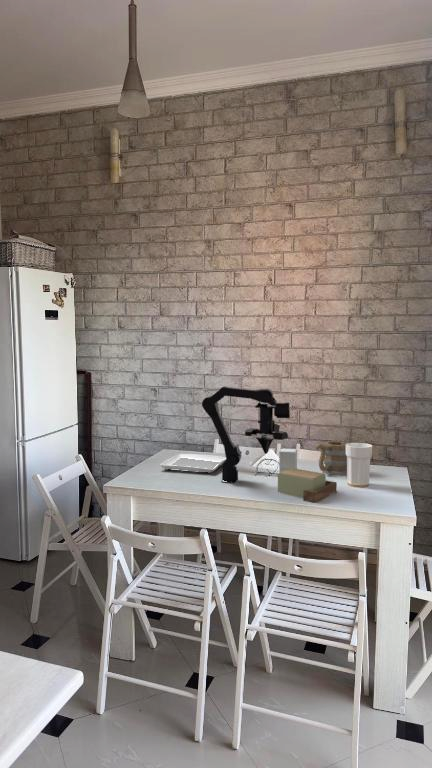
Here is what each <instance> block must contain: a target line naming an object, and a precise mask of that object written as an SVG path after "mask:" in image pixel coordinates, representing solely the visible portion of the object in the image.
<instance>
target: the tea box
mask: <svg viewBox="0 0 432 768" xmlns="http://www.w3.org/2000/svg"><path fill="white" fill-rule="evenodd" d="M326 476H327V474H325V473H323V472H317V471H310V470H304V469H299V468H297V469H294V468H291V469H288V470H285V471H283V472H280V473H279V472H278V473H277V493H279V492H280V494H284V495H290V496H294V497H300V498H303V490H309V491H316V490H318V489H320V488H322V487H324V486H325V480H326ZM326 481H327V480H326Z"/></svg>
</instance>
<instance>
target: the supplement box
mask: <svg viewBox="0 0 432 768" xmlns="http://www.w3.org/2000/svg"><path fill="white" fill-rule="evenodd" d="M278 453H279V457H278V458H279V463H278V466H279V469H278V470H279V471H278V474H279V473H280V472H283V471H285V470H288V469H291V468H294V469H298V456H297V455H298V449H297V448H281V449H280V450H279V451H278Z"/></svg>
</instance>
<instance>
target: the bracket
mask: <svg viewBox="0 0 432 768" xmlns="http://www.w3.org/2000/svg"><path fill="white" fill-rule="evenodd" d="M337 486H338V485H337V482H336V481H331V480H325V486H324V487H322V488H320V489H318V490H316V491H309V490H303V497H302V501H304V502H310V503H314V504H315V503H318V502H320V501H321V500H323V499H325V498H327V497H329V496H331V495H333V494H335V493H337V488H338V487H337Z"/></svg>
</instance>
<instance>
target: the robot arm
mask: <svg viewBox="0 0 432 768" xmlns="http://www.w3.org/2000/svg"><path fill="white" fill-rule="evenodd" d="M225 397H233V398H241V399H249V400H253V401H257V404H256V405H255V408H256V409H257V408H258V409H259V420H257V423H258V424H259V428H255V427H251V428H247V429H245V431H244V436H245V437H251V436H253V435H254V436H256V437H255V440H257V441H258V443H259V444H260V447H261V448H262V450H263V453H264V454H266V455H267V454H268V452H269V450H270V447H271V445H272V442H273V441H274V440H278V441H283V440H286V439H288V438H289V434H288V432H287V431H282V430H280V426H281V425H280V424H277V423H275V420H274V417H273V416H275V417H276V419H290V417H291V409H290V408H291V407H290V402H278V401H277V400H276V399H275V397H274V392H273V391H272V390H271V389H270V388H259V389H258V388H257V389H248V388H247V389H246V388H239V387H228V386H226V385H225V386H222V387H220V388H219V390H218V391H216V392H215V393H214V394H212V395H210V396H207V397H205V398H203V400H202V402H201V407H202V408H203V410H204V411H205V413H206V415H208V417H209V418H210V419H211V421H212V423H213V425H214V428H215V431H216V432H217V434H218V437H219V439H220V441H221V444H222V445H223V446H222V447H223V448H224V455H225V457H226V460H225V461H224V462H223V463H222V465H221V467H222V469H221V473H222V475H221V481H222V480H224V481H227V482H226V483H231V482H236V481H237V482H238V481H239V470H238V469H237V468H238V467H237V465H238V464H239V463H240V461H241V459H242V453H243V452H242V450H240V446H239V444H237V445H235V443H234V442H233V441H232V439H231V437H230V434H229V432H228V430H227V427H226V426H225V425H226V424H225V423H224V420H223V418H222V416H221V414H220V408H219V403H218V402H220V401H221V400H222V399H224V398H225ZM237 482H236V483H237Z"/></svg>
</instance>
